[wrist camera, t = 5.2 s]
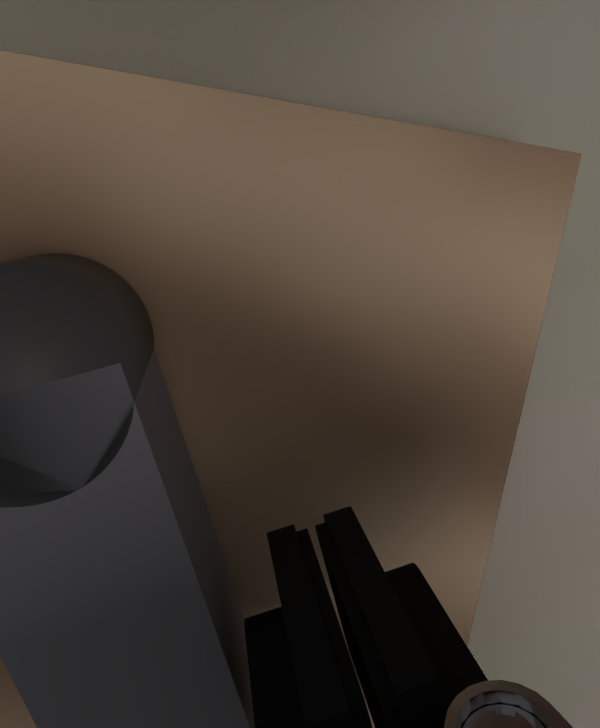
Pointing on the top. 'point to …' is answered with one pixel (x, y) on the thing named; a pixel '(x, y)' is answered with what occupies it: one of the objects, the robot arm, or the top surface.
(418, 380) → the flat wooden plank
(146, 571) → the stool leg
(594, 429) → the top surface
